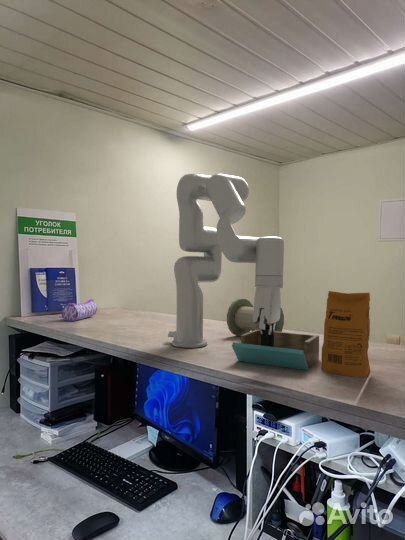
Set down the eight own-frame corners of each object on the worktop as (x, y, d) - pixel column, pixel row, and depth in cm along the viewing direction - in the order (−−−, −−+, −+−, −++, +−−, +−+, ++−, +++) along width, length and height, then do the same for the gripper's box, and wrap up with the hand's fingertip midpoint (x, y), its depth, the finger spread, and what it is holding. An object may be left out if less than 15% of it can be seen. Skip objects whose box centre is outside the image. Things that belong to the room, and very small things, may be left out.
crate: (240, 362, 119) (240, 335, 119) (255, 354, 129) (255, 329, 129) (308, 371, 109) (308, 342, 109) (318, 362, 120) (319, 335, 119)
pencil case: (77, 322, 196) (77, 303, 196) (60, 321, 198) (60, 302, 198) (98, 316, 218) (98, 299, 217) (82, 316, 220) (82, 298, 219)
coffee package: (327, 366, 115) (328, 289, 115) (373, 373, 108) (375, 291, 108) (316, 374, 107) (317, 291, 106) (365, 382, 100) (367, 293, 99)
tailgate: (238, 361, 118) (231, 345, 113) (240, 358, 118) (232, 342, 114) (307, 371, 108) (302, 354, 103) (308, 367, 109) (303, 350, 104)
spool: (226, 337, 160) (226, 299, 159) (252, 333, 169) (252, 297, 169) (258, 343, 147) (258, 303, 147) (283, 339, 157) (284, 300, 157)
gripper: (265, 280, 118) (263, 342, 119) (245, 282, 105) (244, 352, 106) (290, 281, 115) (288, 345, 115) (273, 283, 102) (271, 356, 102)
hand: (267, 348), depth 111 cm, fingers closed
